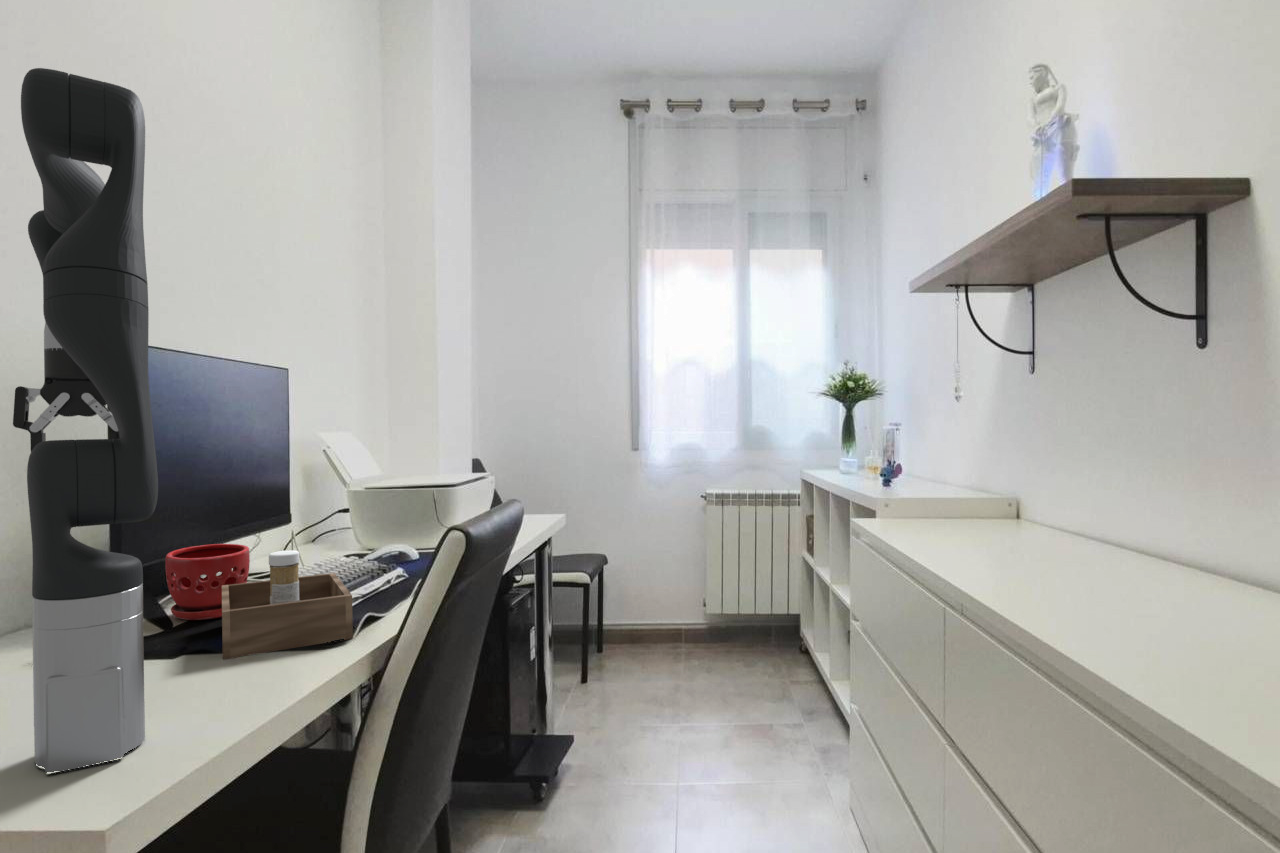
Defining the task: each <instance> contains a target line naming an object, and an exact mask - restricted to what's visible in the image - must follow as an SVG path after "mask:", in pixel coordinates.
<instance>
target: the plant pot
mask: <svg viewBox="0 0 1280 853" xmlns="http://www.w3.org/2000/svg"><path fill="white" fill-rule="evenodd" d="M250 563H251V562H250V547H249V546H247V545H244V544H238V543H236V544H235V543H213V544H202V545H193V546H188V547H183V548H179V549H175V550H172V551H169V552H168V553H167V554H166V556H165V577H166V584H167V589H168V591H169V594H170V597H171V599H172V600H173V601H174V602H175V604H174V605H172V607H170V612H171V614H172V615H173V616H174V617H176V618H178V619H181V620H186V621H204V620H213V619H218V618H222V585H231V584H240V583H248V579H249V573H250V572H249V571H250ZM218 573H220V574H219V575H217V574H218ZM202 576H205V577H202Z"/></svg>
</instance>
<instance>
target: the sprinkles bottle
mask: <svg viewBox="0 0 1280 853" xmlns="http://www.w3.org/2000/svg"><path fill="white" fill-rule="evenodd" d="M268 565H269V580H270V604H278V603H286V602H293V601H299V577H300V576H299V575H300V574H299V565H300V552H299V551H298V550H296V549H295V550H294V549H291V550H290V549H288V550H287V549H286V550H279V551H273V552H271V553H269V554H268Z"/></svg>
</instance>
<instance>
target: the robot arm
mask: <svg viewBox="0 0 1280 853" xmlns="http://www.w3.org/2000/svg"><path fill="white" fill-rule="evenodd" d="M20 90H21V92H20V113H21V114H20V115H21V123H22V130H23V133H24V136H25V137H24V138H25V141H26V143H27V144H26V145H27V147H28V149H29V152H30V155H31V158H32V160H33V164H34V166H35V169H36V171H37V174H38V177H39V179H40V182H41V187H42V200H43V201H42V202H43V203H42V204H43V205H42V206H43V209H42V210H39V211H37V212H35V213H34V214H33V215H32V216H31V217H30V218H29V221H28V225H27V232H28V233H27V234H28V237H29V240H30V243H31V246H32V247H33V250H34V253H35V256H36V258H37V261H38V263H39V266H40V269H41V273H42V284H43V285H42V287H43V288H42V290H43V291H42V292H43V293H42V294H43V295H42V296H43V299H42V300H43V301H42V302H43V304H42V306H43V318H44V321H45V322H44V328H43V357H44V358H43V361H44V362H43V363H44V364H43V365H44V366H43V367H44V370H43V372H44V383H43V385H42V387H41V388H31V387H27V386H26V387H25V386H17V387H15V389H14V402H13V416H12V420H13V421H12V426H13V427H14V428H16V429H22V430H25V431H26V432H29V434H30V454H29V456H28V461H27V467H26V469H27V470H26V471H27V472H26V483H27V497H28V498H27V499H28V508H29V519H30V520H29V521H30V529H31V530H30V531H31V532H30V533H31V542H32V544H31V546H32V547H31V548H32V572H31V573H32V575H31V576H32V579H31V580H32V581H31V582H32V584H31V586H32V587H31V589H32V590H31V592H32V593H31V595H32V598H31V599H32V601H31V602H32V603H31V604H32V606H31V607H32V608H31V609H32V675H33V676H32V681H33V682H32V683H33V684H32V686H33V687H32V688H33V730H34V731H33V734H34V740H33V742H34V744H33V745H34V764H35V763H36V764H37V765H38V766H42V767H44V768H45V770H44V772H46V773H47V772H54V771H63V770H68V769H74V768H78V767H83V766H86V765H92V764H96V763H100V762H104V761H110V760H114V759H117V758H121V757H123V756H125V755H126V754H125V753H126V752H128V751H130V750H132V749H133V750H135V749H137V748H138V747H139V746H141V745H142V743H143V742H144V741H145V738H146V720H145V719H146V715H145V714H146V712H145V711H146V710H145V708H146V706H145V656H144V655H145V653H144V651H145V649H144V589H143V588H144V586H143V585H144V583H143V582H144V573H143V572H144V570H143V564H142V560H140V559H139V558H138V557H137V556H136V557H135V556H134V555H130V554H125V553H121V552H120V553H119V552H113V551H107V550H103V549H99V548H96V547H93V546H90V545H87V544H85V543H83V542H81V541H78V539H76V538H74V537H73V535H72V534H71V529H72V528H77V527H78V528H81V527H90V526H91V527H92V526H103V525H104V526H105V525H113V524H114V525H115V524H127V523H128V524H129V523H137V522H142V521H146V520H148V519H149V518H150V517H152V515H153V514H154V512H155V510H156V507H157V503H158V498H159V497H158V496H159V477H158V476H159V475H158V473H159V472H158V465H157V454H156V444H155V433H154V424H153V415H152V404H151V395H150V381H149V317H150V316H149V290H148V288H149V287H148V275H147V264H146V250H145V234H144V233H145V232H144V189H145V188H144V185H145V159H146V155H145V154H146V120H145V114H144V112H145V111H144V109H143V108H144V107H143V104H142V102H141V100H140V98H139V96H138V95H137V94H136V93H135V92H134V91H132V90H131V89H128V88H126V87H123V86H122V85H121V86H120V85H117V84H114V83H111V82H106V81H103V80H102V81H101V80H99V79H93V78H89V77H86V76H81V75H77V74H74V73H68V72H64V71H61V70H57V69H50V68H44V67H36V68H32V69H30V70H28V71H27V73H25V75H24V77H23V80H22V83H21V89H20ZM87 163H89V164H90V163H91V164H95V165H100V166H103V165H104V166H107V167H110V168H111V169H110V173H109V176H108V178H107V181H106V183H104V181H103V178H101V177H100V176H99V174H98V173H97V172H96V171H95V170H94V169H93V168H92V167H91V166H89V165H88V164H87ZM39 396H40V397H41V398H42V399H43V400H44V401H45V402H46V403H47V405H48V407H47V408H46V409H45V410H44V411H43V412H42V413H40V415H39V416H38V417H37V419H36V420H34V422H32V421H29V414H30V413H29V412H30V403H34V402H35V401H36V399H37V397H39ZM106 406H108V407H106ZM58 416H62V417H68V418H69V417H71V418H72V417H76V416H80V417H94V416H98V417H100V419H101V420H102V421H104V422H105V423H106V424H107V426H108V427H110V429H111V431H110V432H109V434H110V437H109V438H99V439H97V438H96V439H95V438H93V439H87V438H86V439H58V440H57V439H54V440H46V439H47V438H46V432H44V430H45V429H46V428H47V427H48V426H49V425H50V424H51V423H52V422H53V421H54V420H55V419H56V418H57V417H58ZM138 745H139V746H138ZM137 746H138V747H137ZM136 747H137V748H136ZM134 748H135V749H134ZM133 750H132V751H133ZM130 752H131V751H130ZM128 753H129V752H128ZM124 754H125V755H124ZM123 758H124V757H123ZM83 768H84V767H83ZM74 770H75V769H74Z"/></svg>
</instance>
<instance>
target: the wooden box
mask: <svg viewBox="0 0 1280 853" xmlns="http://www.w3.org/2000/svg"><path fill="white" fill-rule="evenodd" d="M299 600H301V601H293V602H286V603H278V604H270V579H269V580H267V579H266V580H258V581H252V582H251V581H250V582H249V581H248V582H247V583H240V584H231V585H222V617H221V627H222V628H221V629H222V630H221V631H222V633H221V634H222V635H221V637H222V640H221V643H222V660H228V659H234V658H238V657H246V656H253V655H258V654H265V653H271V652H277V651H283V650H290V649H295V648H301V647H307V646H314V645H320V644H321V645H322V644H327V642H328V643H332V642H331V641H334V640H339V639H344V640H343V641H346V640H351V639H353V638H354V636H353V634H354V633H353V632H354V630H353V628H354V627H353V621H354V620H353V595H352V593H351V592H350V590H349V589H348V587H347V586H345V584H344V583H343V581H341V579H340V578H339V577H338V575H337V574H336V573H335V572H330V573H322V574H313V575H303V576H299ZM334 642H335V641H334Z"/></svg>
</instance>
